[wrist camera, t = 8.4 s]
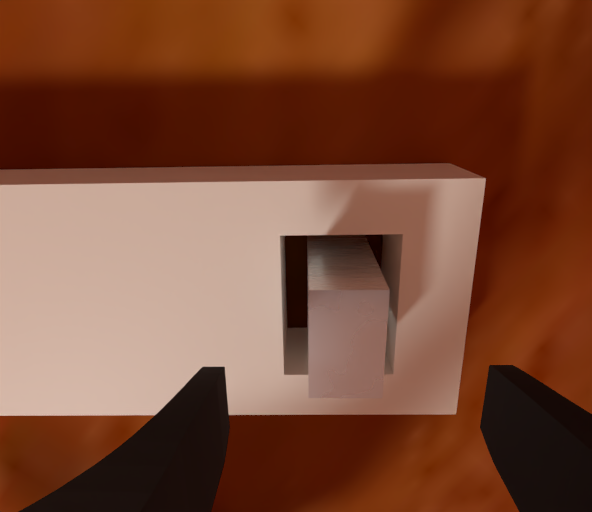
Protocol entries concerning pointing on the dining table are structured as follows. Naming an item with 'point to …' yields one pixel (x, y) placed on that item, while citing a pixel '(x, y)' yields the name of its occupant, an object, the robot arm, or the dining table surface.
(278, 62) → the dining table surface
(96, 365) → the pale beige flat-sided block
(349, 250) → the pinkish white rectangular block
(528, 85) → the dining table surface
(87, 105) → the dining table surface
